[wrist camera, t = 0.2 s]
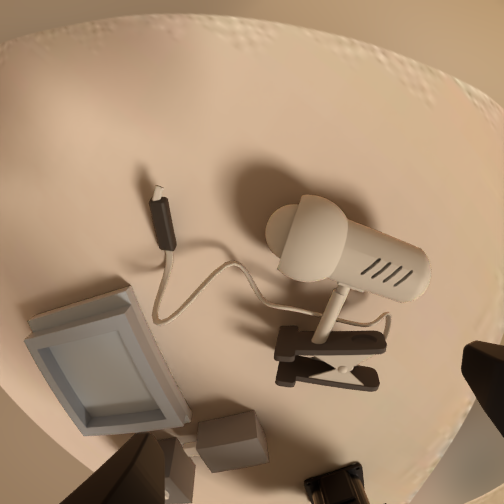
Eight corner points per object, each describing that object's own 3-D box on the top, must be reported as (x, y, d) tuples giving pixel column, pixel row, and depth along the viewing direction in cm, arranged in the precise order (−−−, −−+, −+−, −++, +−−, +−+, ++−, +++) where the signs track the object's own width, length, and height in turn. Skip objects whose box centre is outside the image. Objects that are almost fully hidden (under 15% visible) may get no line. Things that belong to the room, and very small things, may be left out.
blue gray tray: (192, 413, 24) (188, 434, 21) (98, 425, 24) (89, 443, 21) (131, 285, 21) (118, 299, 18) (34, 315, 21) (17, 328, 18)
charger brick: (195, 465, 25) (191, 508, 20) (156, 468, 25) (147, 509, 20) (176, 437, 24) (168, 482, 19) (135, 442, 24) (122, 484, 19)
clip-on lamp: (154, 299, 24) (365, 373, 23) (112, 335, 18) (375, 427, 17) (188, 153, 21) (431, 237, 19) (143, 148, 15) (470, 261, 13)
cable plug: (265, 434, 25) (269, 462, 21) (195, 448, 25) (192, 475, 21) (254, 409, 24) (257, 437, 21) (180, 424, 24) (175, 452, 21)
